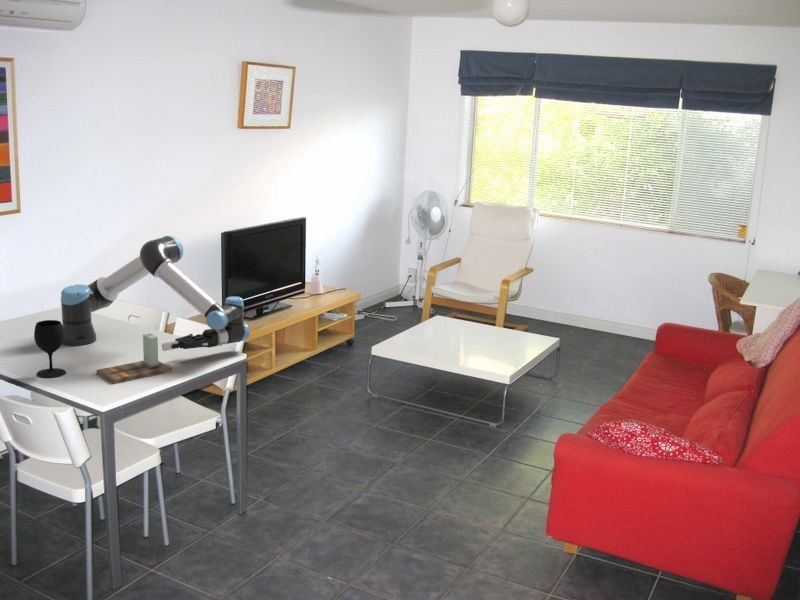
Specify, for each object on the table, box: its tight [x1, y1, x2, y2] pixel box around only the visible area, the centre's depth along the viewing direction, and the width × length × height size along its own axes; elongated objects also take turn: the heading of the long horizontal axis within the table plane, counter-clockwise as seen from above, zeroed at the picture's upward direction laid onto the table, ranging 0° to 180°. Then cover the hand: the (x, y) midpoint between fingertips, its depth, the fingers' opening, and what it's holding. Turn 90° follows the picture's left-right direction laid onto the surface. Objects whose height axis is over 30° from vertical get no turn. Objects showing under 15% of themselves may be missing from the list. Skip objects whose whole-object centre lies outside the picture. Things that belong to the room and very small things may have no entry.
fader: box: [140, 333, 161, 368], centre depth 326 cm, size 5×7×12 cm
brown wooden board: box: [96, 360, 173, 385], centre depth 323 cm, size 24×14×2 cm, turn 134°
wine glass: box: [33, 319, 67, 379], centre depth 315 cm, size 10×10×20 cm
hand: (163, 347), depth 330 cm, fingers closed
